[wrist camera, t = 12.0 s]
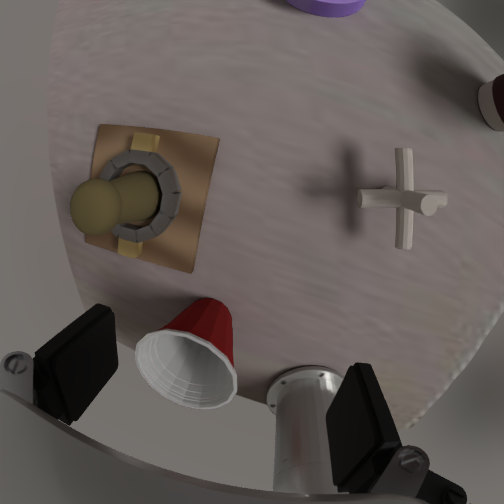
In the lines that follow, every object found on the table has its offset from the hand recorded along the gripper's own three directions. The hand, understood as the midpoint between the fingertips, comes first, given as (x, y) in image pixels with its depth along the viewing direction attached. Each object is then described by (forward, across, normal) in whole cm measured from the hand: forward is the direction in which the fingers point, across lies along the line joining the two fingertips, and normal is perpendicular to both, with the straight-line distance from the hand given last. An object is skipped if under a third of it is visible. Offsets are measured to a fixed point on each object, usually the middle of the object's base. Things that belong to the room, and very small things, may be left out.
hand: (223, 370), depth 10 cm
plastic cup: (+24, +5, +12) cm, 27 cm away
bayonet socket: (+23, +15, -3) cm, 27 cm away
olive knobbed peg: (+22, +15, -3) cm, 27 cm away
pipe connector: (+23, -13, -8) cm, 28 cm away
